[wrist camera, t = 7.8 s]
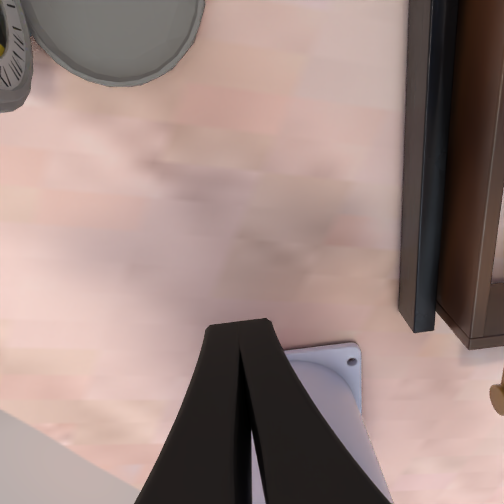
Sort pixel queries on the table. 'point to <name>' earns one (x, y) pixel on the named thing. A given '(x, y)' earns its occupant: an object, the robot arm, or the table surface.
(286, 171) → the table surface
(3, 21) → the pocket watch
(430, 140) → the rails
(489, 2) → the drawer
